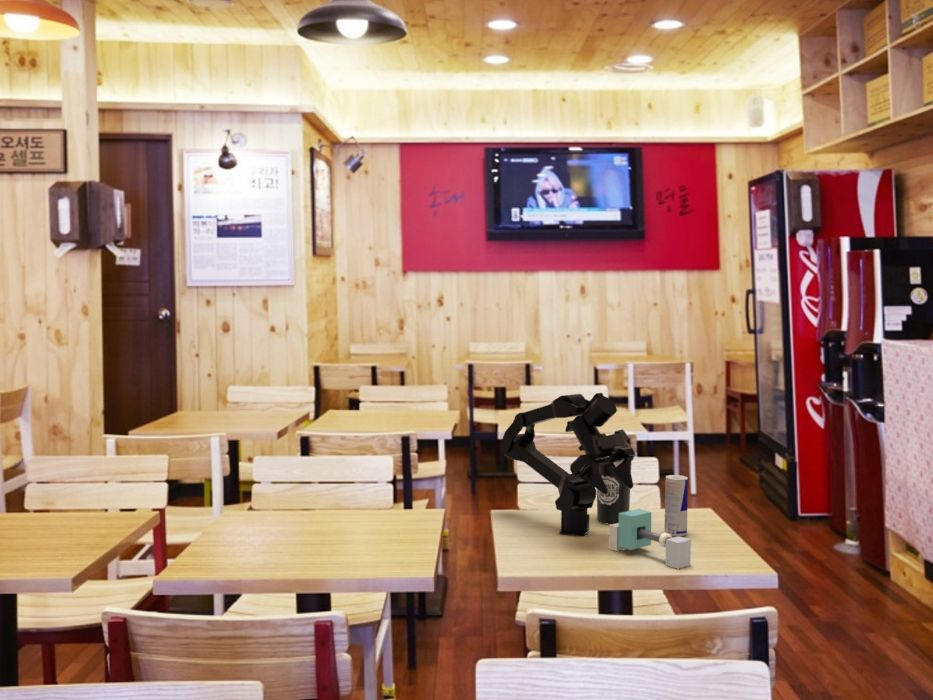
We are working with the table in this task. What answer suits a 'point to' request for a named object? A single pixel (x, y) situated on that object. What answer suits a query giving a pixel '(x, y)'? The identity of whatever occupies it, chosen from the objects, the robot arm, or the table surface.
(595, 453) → the robot arm
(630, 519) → the teal block with hole
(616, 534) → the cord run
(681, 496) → the beverage can
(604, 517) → the water bottle
